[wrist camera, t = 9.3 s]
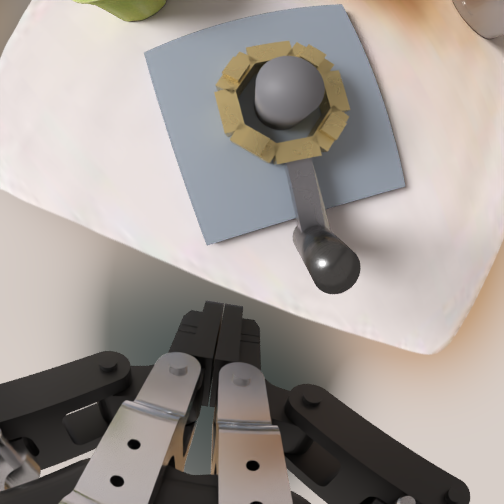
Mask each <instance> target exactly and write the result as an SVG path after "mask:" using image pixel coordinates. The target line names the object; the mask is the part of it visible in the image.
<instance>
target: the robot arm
mask: <svg viewBox="0 0 504 504" xmlns="http://www.w3.org/2000/svg"><path fill="white" fill-rule="evenodd" d="M453 3H454V5H455V7H456V8H457V10H458V12H459V13H460V14H461V16H462V17H463V19H464V20H465V21H466V22H467V23H468V24H469V25H470V26H471V27H472V29H474V30H475V31H476V32H477V33H478V34H480V35H481V36H483V37H485V38H488V39H492V38H495V37H498V36H501V35H504V0H453ZM223 307H224V303H217V302H211V301H206V303H205V306H204V309H203V312H199V311H193V310H192V311H190V312H188V313H187V314H186V315H184V317H183V319H182V321H181V324H180V326H179V329H178V331H177V333H176V335H175V338H174V340H173V343H172V345H171V347H170V350H169V352H168V353H167V354H165V355H163V356H161V357H160V358H159V359H158V360H157V362H156V364H154V365H150V366H130V362H129V361H128V359H127V358H126V357H125V356H124V355H122V354H120V353H117V352H113V351H104V352H100V353H97V354H94V355H91V356H88V357H85V358H82V359H79V360H76V361H73V362H70V363H67V364H64V365H61V366H58V367H55V368H52V369H48V370H45V371H42V372H40V373H36V374H33V375H29V376H27V377H23V378H19V379H16V380H13V381H9V382H6V383H2V384H0V504H311V503H310V502H308V501H307V500H306V499H304V498H303V497H301V496H300V495H298V494H296V493H294V492H292V491H290V485H289V480H288V474H287V469H288V470H289V471H290V472H292V473H293V474H294V475H295V476H296V477H297V478H298V479H299V480H301V481H302V482H303V483H304V484H305V485H306V486H307V487H308V488H310V489H311V490H312V491H313V492H314V493H316V494H317V495H318V496H319V497H320V498H322V499H323V500H324V501H325V502H327V503H328V504H469V502H470V492H469V489H468V487H467V486H466V484H465V483H464V482H463V481H461V480H459V479H458V478H456V477H454V476H453V475H451V474H449V473H447V472H446V471H444V470H442V469H441V468H439V467H437V466H435V465H434V464H432V463H431V462H429V461H427V460H426V459H424V458H422V457H421V456H419V455H418V454H416V453H414V452H413V451H412V450H410V449H409V448H407V447H405V446H404V445H402V444H401V443H399V442H398V441H396V440H395V439H393V438H392V437H390V436H389V435H387V434H386V433H384V432H383V431H382V430H380V429H379V428H377V427H376V426H374V425H372V424H371V423H370V422H369V421H367V420H366V419H364V418H363V417H362V416H360V415H359V414H357V413H356V412H355V411H353V410H352V409H350V408H349V407H348V406H346V405H345V404H344V403H342V402H341V401H340V400H338V399H337V398H336V397H334V396H333V395H332V394H330V393H329V392H328V391H326V390H325V389H323V388H321V387H319V386H316V385H311V384H302V385H298V386H296V387H294V388H293V389H292V390H291V391H288V390H285V389H282V388H279V387H276V386H274V385H272V384H270V383H269V382H268V381H267V380H266V379H265V378H264V375H263V373H262V372H261V362H260V328H259V326H258V325H257V323H256V322H255V320H250V319H243V318H242V312H243V306H237V305H231V304H225V308H224V313H223ZM222 314H223V318H222ZM221 323H222V324H221ZM212 378H213V380H212ZM211 384H212V389H211ZM210 390H211V398H210V407H215V409H214V418H213V426H212V455H211V474H210V475H190V474H187V473H184V466H185V461H186V458H187V455H188V452H189V448H190V445H191V442H192V438H193V435H194V432H195V428H196V425H197V421H198V417H199V415H200V410H201V405H203V406H208V401H209V395H210ZM95 402H97V404H95V405H92V406H89V407H87V408H84V409H82V410H79V411H77V412H74V413H71V414H69V415H66V414H68V413H70V412H72V411H75V410H78V409H80V408H83V407H85V406H88V405H90V404H93V403H95ZM95 448H96V450H95V452H94V454H93V455H92V457H91V458H88V459H85V460H81V461H78V462H76V463H74V464H71V465H69V466H67V467H65V468H62V469H60V470H58V471H55V472H53V473H51V474H48V475H45V476H43V477H40V472H41V470H43V469H45V468H48V467H51V466H54V465H56V464H59V463H62V462H64V461H67V460H69V459H72V458H74V457H77V456H79V455H81V454H84V453H86V452H89V451H91V450H93V449H95ZM286 468H287V469H286ZM39 477H40V478H39Z"/></svg>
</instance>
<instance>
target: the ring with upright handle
mask: <svg viewBox="0 0 504 504" xmlns="http://www.w3.org/2000/svg"><path fill="white" fill-rule="evenodd" d="M281 56H295V57H299V58H302V59H304V60H306V61H308V62H309V63H311V64H312V65H313V66H314V67H315V68H316V69H317V70H318V71H319V73H320V74H321V76H322V78H323V81H324V86H325V92H324V97H323V100H322V102H321V103H320V105H319V107H320V110H321V116H320V117H319V119H318V120H317V122H316V124H315V125H314V127H313V128H312V130H311V131H310V133H309V134H308V136H307V137H306V138H300V139H295V140H290V141H285V142H280V143H276V142H274V141H273V140H271V139H270V138H268V137H266V136H265V135H263V134H261V133H259V132H258V131H256V130H254V129H253V128H250V127H249V126H247V125H245V124H244V120H243V116H242V113H241V109H240V105H239V101H238V98H239V96H240V95H241V93H242V92H243V90H244V89H245V87H246V86H247V84H248V83H249V82H250V80H251V79H252V77H253V76H254V74H258V73H259V71H260V69H261V68H262V67H263V65H264V64H266V63H267V62H268V61H270V60H272V59H274V58H277V57H281ZM325 57H326V54H325V53H323V52H322V51H320V50H318V49H317V48H315V47H313V46H311V45H310V44H308V46H307V47H305V46H303V45H301V44H300V43H298V42H296V43H295V45H294V46H293V47H291V44H290V41H281V42H274V43H268V44H262V45H256V46H251V47H246V54H244V53H242V52H240V51H239V53H238V54H237V55H236V57H234V56H233V57H232V59H231V60H230V62H229V63H228V64H227V66H226V67H225V68H224V70H223V71H222V74H223V75H222V76H221V78H220V79H219V81H218V82H217V83H216V85H215V86H216V88H217V90H218V91H216V92H214V94H215V98H216V102H217V106H218V109H219V113H220V117H221V121H222V125H223V129H224V133H225V135H226V136H227V137H231V138H230V141H231V142H232V143H233V144H235V145H237V146H239V147H240V148H242V149H244V150H246V151H247V152H249V153H251V154H253V155H254V156H256V157H258V158H259V159H261V160H263V161H264V162H266V163H270V162H271V160H272V159H273V162H274V164H282V163H284V167H285V171H286V176H287V180H288V184H289V189H290V193H291V198H292V202H293V207H294V211H295V216H296V221H297V227H296V228H295V230H294V233H293V242H294V244H295V246H296V248H297V250H298V252H299V254H300V256H301V258H302V260H303V261H304V263H305V265H306V267H307V269H308V271H309V273H310V275H311V277H312V279H313V281H314V283H315V284H316V286H317V287H318V288H319V289H320V290H321V291H323V292H325V293H328V294H339V293H342V292H345V291H347V290H348V289H350V288H351V287H352V286H353V285H354V284H355V282H356V281H357V279H358V277H359V274H360V261H359V259H358V257H357V255H356V254H355V253H354V252H353V251H352V250H351V249H350V248H349V247H348V246H347V245H346V244H344V243H343V242H342V241H341V240H340V239H339V238H338V237H337V236H336V235H334V234H333V233H332V232H331V231H330V230H329V229H328V228H326V227H325V222H324V217H323V212H322V206H321V201H320V196H319V191H318V186H317V182H316V177H315V172H314V168H313V163H312V159H311V157H316V156H322V154H321V152H327V151H328V150H329V149H330V147H331V145H332V144H333V142H334V141H335V140H337V139H338V137H339V135H340V134H341V132H342V131H343V129H344V127H345V126H346V124H347V123H346V122H347V120H348V118H349V116H348V115H347V114H345V112H347V111H349V110H350V106H349V103H348V99H347V96H346V92H345V89H344V85H343V82H342V79H341V75H340V72H339V70H336V71H330V70H331V69H332V67H333V66H334V64H333V63H331V62H330V61H328V60H326V59H325Z"/></svg>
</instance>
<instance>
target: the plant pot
mask: <svg viewBox="0 0 504 504" xmlns="http://www.w3.org/2000/svg"><path fill="white" fill-rule="evenodd" d="M73 1H75V2H77V3H82V4H87V3H88V4H92V5H96V6H98V7H100V8H102V9H104V10H106V11H108V12H109V13H111V14H113V15H115V16H116V17H118V18H120V19H122V20H124V21H128V22H129V21H137V20H143V19H146V18H148V17H150V16H152V15H153V14H155V13H156V12H158V11H159V10H160V9H161V8H162V7H163V6H164V4H165V3H166V0H73Z"/></svg>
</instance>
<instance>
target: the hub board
mask: <svg viewBox="0 0 504 504" xmlns="http://www.w3.org/2000/svg"><path fill="white" fill-rule="evenodd" d="M281 41H290V44H291V47H293V46H294V45H295V43H296V42H298V43H300V44H301V45H303V46H305V47H307V46H308V44H310V45H311V46H313V47H315V48H317V49H318V50H320V51H322V52H323V53H325V54H326V57H325V59H326V60H328V61H330V62H331V63H333V64H334V66H333V67H332V69H331V70H330V71H336V70H339V72H340V75H341V79H342V82H343V85H344V89H345V92H346V96H347V99H348V103H349V106H350V110H349V111H347V112H345V114H347V115H348V116H349V118H348V120H347V122H346V123H347V124H346V126H345V127H344V129H343V131H342V132H341V134H340V135H339V137H338V139H337V140H335V141H334V142H333V144H332V145H331V147H330V149H329V150H328V151H327V152H321V154H322V156H316V157H311V159H312V163H313V168H314V172H315V177H316V182H317V186H318V191H319V196H320V201H321V206H322V212H323V217H324V222H325V227H326V228H328V229H329V230H330V226H329V222H328V218H327V214H326V210H325V209H328V208H331V207H335V206H338V205H342V204H345V203H349V202H352V201H355V200H359V199H362V198H366V197H369V196H373V195H377V194H380V193H384V192H387V191H391V190H394V189H398V188H402V187H405V182H404V177H403V172H402V168H401V163H400V159H399V154H398V150H397V146H396V142H395V139H394V135H393V131H392V128H391V124H390V121H389V117H388V114H387V111H386V108H385V105H384V102H383V99H382V96H381V93H380V90H379V87H378V84H377V82H376V79H375V76H374V74H373V71H372V68H371V66H370V63H369V61H368V58H367V56H366V54H365V51H364V49H363V47H362V44H361V42H360V40H359V38H358V36H357V33H356V31H355V29H354V27H353V25H352V23H351V21H350V19H349V17H348V15H347V13H346V11H345V9H344V8H343V6H342V4H339V5H323V6H312V7H303V8H295V9H288V10H281V11H275V12H270V13H264V14H260V15H255V16H250V17H246V18H242V19H238V20H234V21H230V22H226V23H223V24H219V25H216V26H212V27H209V28H206V29H203V30H200V31H197V32H194V33H191V34H188V35H186V36H183V37H180V38H178V39H175V40H172V41H170V42H167V43H165V44H162V45H160V46H158V47H155V48H153V49H151V50H149V51H146V52H144V55H145V58H146V62H147V65H148V69H149V72H150V76H151V79H152V83H153V86H154V90H155V93H156V96H157V100H158V103H159V106H160V109H161V113H162V116H163V119H164V122H165V125H166V129H167V132H168V135H169V138H170V141H171V144H172V147H173V150H174V153H175V156H176V159H177V162H178V165H179V168H180V171H181V174H182V177H183V180H184V183H185V186H186V189H187V192H188V194H189V197H190V200H191V203H192V206H193V209H194V212H195V214H196V217H197V220H198V223H199V225H200V228H201V231H202V234H203V236H204V239H205V242H206V244H207V245H210V244H213V243H217V242H220V241H223V240H226V239H229V238H232V237H236V236H239V235H242V234H245V233H248V232H252V231H255V230H258V229H261V228H265V227H268V226H271V225H274V224H278V223H281V222H284V221H288V220H291V219H294V218H296V216H295V211H294V207H293V202H292V198H291V193H290V189H289V184H288V180H287V176H286V171H285V167H284V163H282V164H274V162H273V159H272V160H271V162H270V163H266V162H264V161H263V160H261V159H259V158H258V157H256V156H254V155H253V154H251V153H249V152H247V151H246V150H244V149H242V148H240V147H239V146H237V145H235V144H233V143H232V142H231V141H230V138H231V137H227V136H226V135H225V133H224V129H223V125H222V121H221V117H220V113H219V109H218V106H217V102H216V98H215V94H214V92H216V91H218V90H217V88H216V86H215V85H216V83H217V82H218V81H219V79H220V78H221V76H222V75H223V74H222V71H223V70H224V68H225V67H226V66H227V64H228V63H229V62H230V60H231V59H232V57H233V56H234V57H236V55H237V54H238V53H239V51H240V52H242V53H244V54H246V47H251V46H256V45H262V44H268V43H274V42H281ZM324 92H325V86H324V81H323V78H322V76H321V74H320V73H319V71H318V70H317V69H316V68H315V67H314V66H313V65H312V64H311V63H309V62H308V61H306V60H304V59H302V58H299V57H295V56H281V57H277V58H274V59H272V60H270V61H268V62H267V63H266V64H264V65H263V67H262V68H261V69H260V71H259V73H258V74H254V76H253V77H252V79H251V80H250V82H249V83H248V84H247V86H246V87H245V89H244V90H243V92H242V93H241V95H240V96H239V98H238V101H239V105H240V109H241V113H242V116H243V120H244V124H245V125H247V126H249V127H250V128H253V129H254V130H256V131H258V132H259V133H261V134H263V135H265V136H266V137H268V138H270V139H271V140H273V141H274V142H276V143H280V142H285V141H290V140H295V139H300V138H306V137H307V136H308V134H309V133H310V131H311V130H312V128H313V127H314V125H315V124H316V122H317V120H318V119H319V117H320V116H321V110H320V107H319V105H320V103H321V102H322V100H323V97H324Z"/></svg>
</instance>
